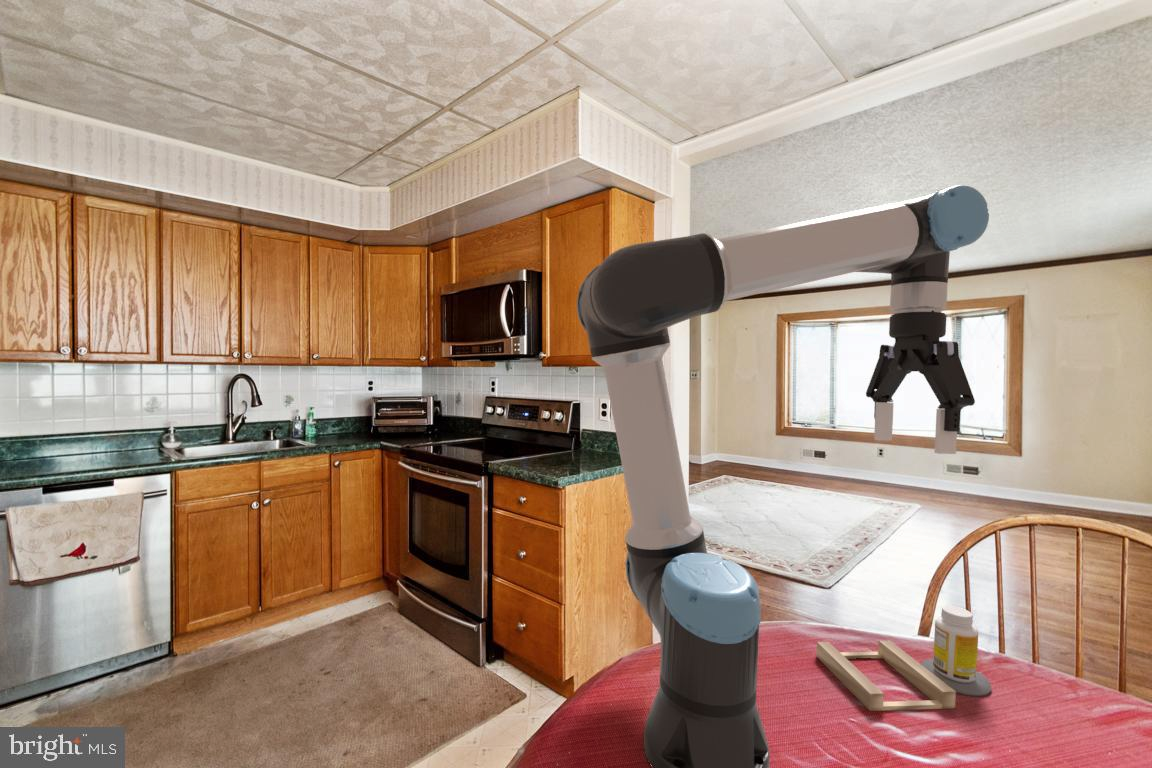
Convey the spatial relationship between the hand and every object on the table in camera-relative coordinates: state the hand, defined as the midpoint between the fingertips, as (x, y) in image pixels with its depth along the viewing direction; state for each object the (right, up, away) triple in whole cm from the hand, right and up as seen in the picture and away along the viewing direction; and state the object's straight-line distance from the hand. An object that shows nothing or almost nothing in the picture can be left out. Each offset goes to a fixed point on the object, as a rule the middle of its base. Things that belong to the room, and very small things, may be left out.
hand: (911, 446), depth 83 cm
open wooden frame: (-6, -37, -1) cm, 37 cm away
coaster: (+7, -37, 0) cm, 38 cm away
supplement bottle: (+7, -37, 0) cm, 37 cm away
